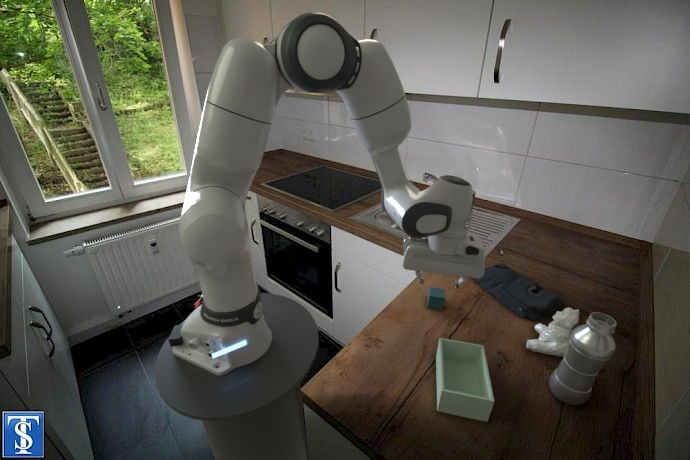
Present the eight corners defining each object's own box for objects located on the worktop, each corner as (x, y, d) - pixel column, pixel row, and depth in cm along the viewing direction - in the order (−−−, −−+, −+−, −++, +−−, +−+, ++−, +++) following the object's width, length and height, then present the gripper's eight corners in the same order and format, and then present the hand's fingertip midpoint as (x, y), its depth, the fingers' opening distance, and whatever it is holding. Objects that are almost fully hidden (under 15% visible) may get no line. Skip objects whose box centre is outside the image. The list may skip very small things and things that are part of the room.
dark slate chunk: (503, 266, 103) (507, 253, 101) (568, 307, 86) (574, 294, 83) (467, 277, 98) (470, 264, 96) (528, 323, 80) (533, 309, 78)
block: (427, 307, 86) (429, 295, 84) (427, 298, 89) (429, 286, 87) (442, 309, 85) (444, 298, 83) (442, 300, 88) (444, 288, 86)
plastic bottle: (541, 377, 66) (573, 304, 57) (576, 383, 65) (615, 309, 56) (552, 406, 61) (589, 329, 51) (591, 413, 59) (637, 336, 50)
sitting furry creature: (535, 326, 79) (549, 288, 74) (575, 344, 74) (594, 305, 69) (523, 348, 73) (538, 308, 68) (566, 369, 68) (586, 328, 62)
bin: (441, 390, 57) (494, 401, 55) (439, 337, 68) (483, 345, 66) (437, 411, 60) (487, 422, 58) (435, 356, 71) (478, 364, 69)
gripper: (402, 241, 77) (398, 286, 84) (491, 251, 73) (480, 297, 79) (404, 230, 83) (400, 273, 89) (487, 238, 78) (477, 283, 85)
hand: (438, 285), depth 84 cm, fingers open, 8 cm apart
